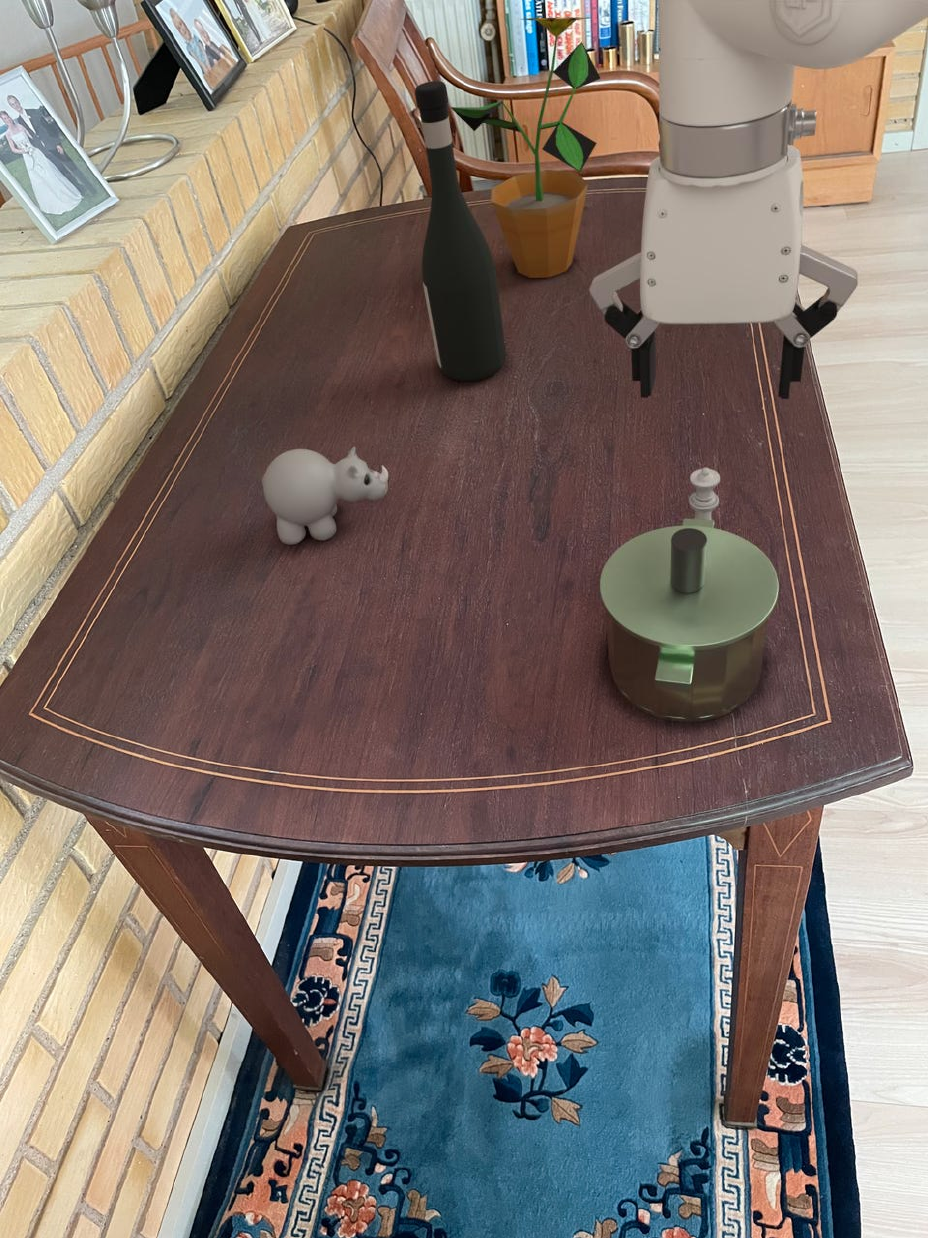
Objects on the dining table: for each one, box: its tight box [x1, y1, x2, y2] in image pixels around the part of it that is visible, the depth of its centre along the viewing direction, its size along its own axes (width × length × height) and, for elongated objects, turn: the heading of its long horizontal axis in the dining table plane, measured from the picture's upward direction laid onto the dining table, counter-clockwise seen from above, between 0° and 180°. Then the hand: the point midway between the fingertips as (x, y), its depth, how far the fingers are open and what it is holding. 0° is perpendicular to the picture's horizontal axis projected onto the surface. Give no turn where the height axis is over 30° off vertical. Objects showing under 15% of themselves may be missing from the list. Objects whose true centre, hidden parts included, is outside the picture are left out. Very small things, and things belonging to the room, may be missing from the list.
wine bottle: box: [414, 80, 507, 383], centre depth 97 cm, size 8×8×30 cm
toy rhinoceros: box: [261, 446, 389, 546], centre depth 88 cm, size 7×12×8 cm, turn 93°
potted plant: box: [450, 17, 601, 279], centre depth 113 cm, size 18×19×30 cm
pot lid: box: [599, 525, 780, 650], centre depth 64 cm, size 12×12×5 cm
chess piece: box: [688, 466, 721, 520], centre depth 76 cm, size 4×4×10 cm
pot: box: [606, 518, 769, 723], centre depth 69 cm, size 11×17×8 cm
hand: (714, 388), depth 67 cm, fingers open, 9 cm apart
